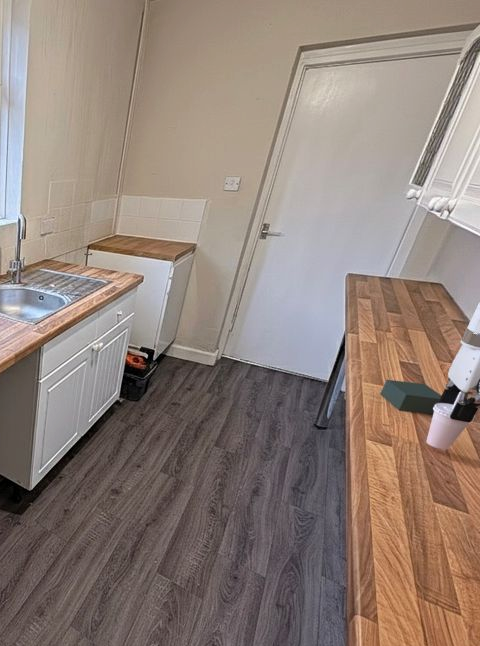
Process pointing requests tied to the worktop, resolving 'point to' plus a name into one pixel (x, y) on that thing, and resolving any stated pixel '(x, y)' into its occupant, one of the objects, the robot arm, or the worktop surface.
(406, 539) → the worktop surface
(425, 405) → the block
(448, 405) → the smoothie
